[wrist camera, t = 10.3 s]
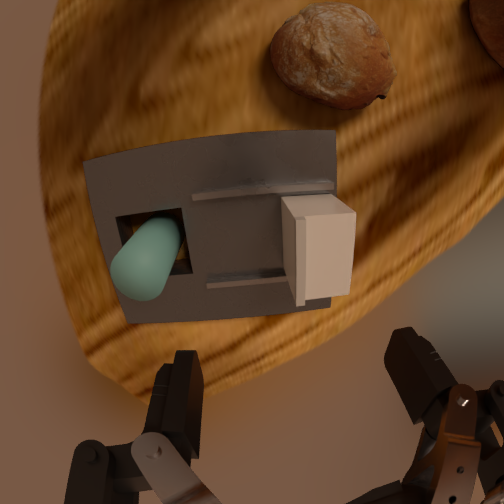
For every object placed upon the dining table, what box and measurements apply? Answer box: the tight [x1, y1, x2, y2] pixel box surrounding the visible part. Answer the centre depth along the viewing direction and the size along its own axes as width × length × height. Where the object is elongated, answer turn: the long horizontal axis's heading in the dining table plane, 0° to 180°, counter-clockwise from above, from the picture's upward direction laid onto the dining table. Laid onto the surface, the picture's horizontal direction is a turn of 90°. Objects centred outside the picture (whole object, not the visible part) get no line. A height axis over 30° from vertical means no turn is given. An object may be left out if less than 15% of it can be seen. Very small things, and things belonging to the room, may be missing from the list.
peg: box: [110, 212, 184, 301], centre depth 21 cm, size 4×4×8 cm
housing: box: [83, 130, 337, 323], centre depth 23 cm, size 16×20×4 cm
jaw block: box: [281, 194, 356, 306], centre depth 19 cm, size 6×4×6 cm, turn 4°
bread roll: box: [270, 2, 397, 110], centre depth 17 cm, size 10×10×8 cm
